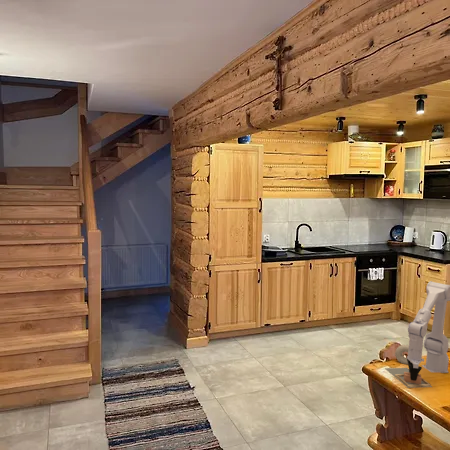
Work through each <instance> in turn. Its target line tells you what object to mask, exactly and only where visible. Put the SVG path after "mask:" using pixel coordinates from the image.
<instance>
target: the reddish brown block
mask: <svg viewBox="0 0 450 450" xmlns="http://www.w3.org/2000/svg"><path fill="white" fill-rule="evenodd" d="M422 378H423V377H422V374H420V373H419V374H418V376H417V379H416V381H413V380H411V378H410V373H409V372H404V381H405V382H410V383H416V384H421V380H422Z"/></svg>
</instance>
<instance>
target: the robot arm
mask: <svg viewBox="0 0 450 450" xmlns="http://www.w3.org/2000/svg"><path fill="white" fill-rule="evenodd" d="M425 290H426V297H425V301H424V304H423V306H422V308H420V309H419V310H418V311H417V314H416V315H415V317H414V319H413V321H411V322H409V324H408V326H407V333H408V334H407V335H408V338H409V339H408V340H409V341H408V345H409V349H408V352H407V356H406V358H407V361H408V364H407V366H408V367H407V368H408V369H409V373H410V378H411V380H413V381H416V379H417V376H418V374H420V372H421V371H422V369H423V368H424V369H426V370H427V371H429V372H430V373H441V374H444V373H445V374H446V373H449V370H448V369H449V356H448V354H447V353H448V350H449V339H448V337H447V335H445V333H444V326H445V318H446V310H447V303H448V302H450V284H445V283H440V282H435V281H432V280H430V281H429V282H428V283H427V284H426V289H425ZM433 308H434V312H433V318H432V310H433ZM431 318H432V319H433V320H432V325H431V326H432V327H431V332H430V331H429V332H428V333H427V329H428V324H429V322H430V320H431ZM423 347H424V349H425V351H426V359H424V358H422V356H423ZM425 360H426V361H425ZM421 362H425V364H424V365H421V366H420V364H421Z"/></svg>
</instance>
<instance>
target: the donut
mask: <svg viewBox="0 0 450 450" xmlns="http://www.w3.org/2000/svg"><path fill="white" fill-rule="evenodd" d="M408 349H409V344H402V345H399V346H397V348H396V349H395V358H396V360H397V361H398V362H399V363H400V364H403V365H408V361H407V357H405V356H404V355H403V354H404V353H405V352H406V353H408Z"/></svg>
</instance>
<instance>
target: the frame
mask: <svg viewBox="0 0 450 450" xmlns="http://www.w3.org/2000/svg"><path fill="white" fill-rule="evenodd" d="M403 376H404V374H395V377H396V378H395V377H394V378H395V379H397V378H398V379H399V380H400V381H401V382H403V383H404V384H405V385H406V386H407V387H419V388H430V387H429V386H432V385H431V384H430V383H429V382H428V381H426V380H425V379H424V378H423V377H422V380H421V381H423V382H424V383H425V384H414V385H409V384H407V383H406V382H405V381H404V380H403V379H401V378H400V377H403ZM398 379H397V380H398ZM399 380H398V381H399ZM400 381H399V382H400ZM401 382H400V383H401ZM403 383H402V384H403ZM404 384H403V385H404ZM405 385H404V386H405ZM406 386H405V387H406ZM407 387H406V388H407Z"/></svg>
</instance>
